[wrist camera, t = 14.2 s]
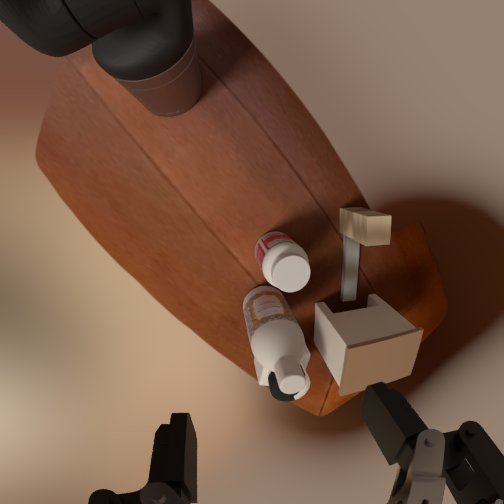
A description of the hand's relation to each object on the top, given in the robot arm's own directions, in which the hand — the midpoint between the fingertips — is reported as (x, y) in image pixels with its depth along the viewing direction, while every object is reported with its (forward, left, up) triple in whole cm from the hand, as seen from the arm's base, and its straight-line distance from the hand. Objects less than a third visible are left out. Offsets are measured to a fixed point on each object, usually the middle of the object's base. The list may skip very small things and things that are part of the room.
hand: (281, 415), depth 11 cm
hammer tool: (+4, +19, -33) cm, 38 cm away
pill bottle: (+2, +6, -33) cm, 34 cm away
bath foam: (+11, +4, -33) cm, 35 cm away
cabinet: (+16, +19, -33) cm, 41 cm away
